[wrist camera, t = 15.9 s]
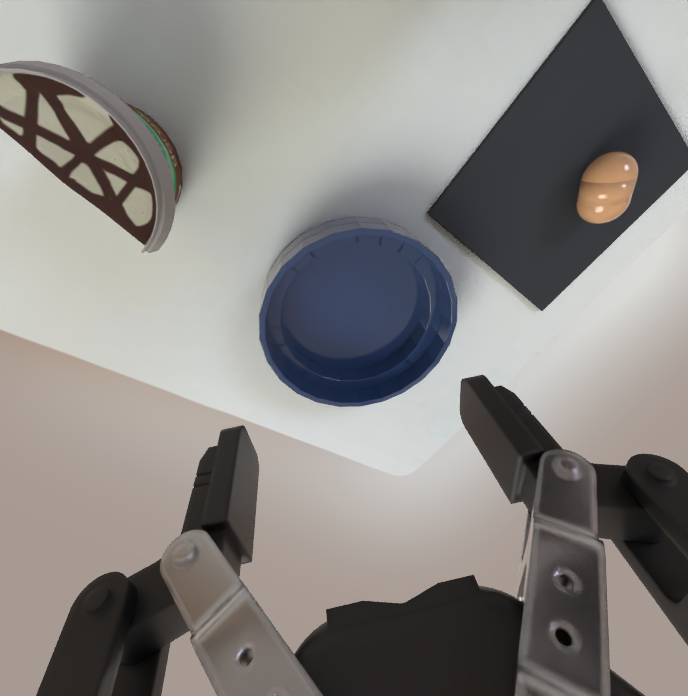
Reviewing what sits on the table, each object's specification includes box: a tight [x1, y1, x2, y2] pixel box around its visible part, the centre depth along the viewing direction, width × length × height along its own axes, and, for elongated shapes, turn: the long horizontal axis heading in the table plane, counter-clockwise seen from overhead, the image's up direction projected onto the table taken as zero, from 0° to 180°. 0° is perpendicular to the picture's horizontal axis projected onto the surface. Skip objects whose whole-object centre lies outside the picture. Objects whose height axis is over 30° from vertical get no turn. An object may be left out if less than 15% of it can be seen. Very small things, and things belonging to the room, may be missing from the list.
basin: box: [259, 217, 457, 407], centre depth 38 cm, size 20×20×5 cm
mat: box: [428, 0, 688, 311], centre depth 35 cm, size 20×20×1 cm
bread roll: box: [576, 151, 639, 224], centre depth 34 cm, size 6×4×4 cm
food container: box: [0, 61, 182, 253], centre depth 25 cm, size 12×6×10 cm, turn 40°
